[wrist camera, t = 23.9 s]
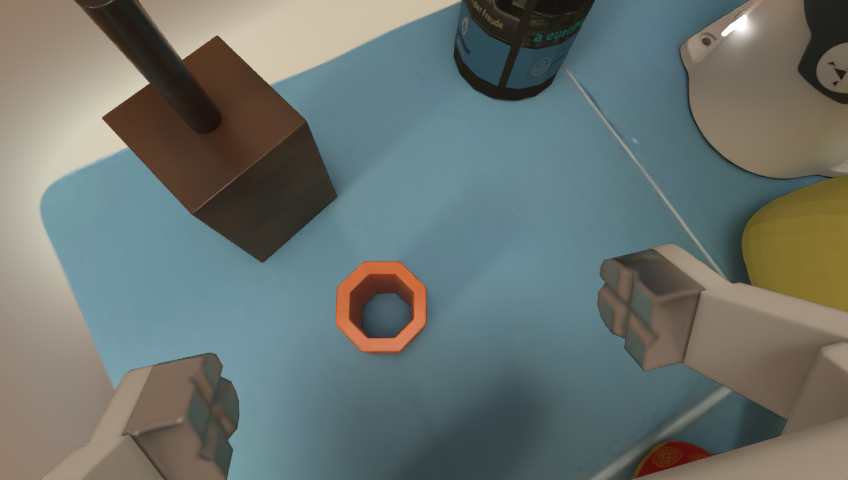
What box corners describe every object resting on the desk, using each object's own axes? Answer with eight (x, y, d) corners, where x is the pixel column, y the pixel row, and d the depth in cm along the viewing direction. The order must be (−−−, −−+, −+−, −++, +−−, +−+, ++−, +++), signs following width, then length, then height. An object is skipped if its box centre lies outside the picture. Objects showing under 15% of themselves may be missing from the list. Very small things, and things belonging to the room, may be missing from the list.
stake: (274, 134, 37) (123, -130, 17) (337, 196, 36) (255, -8, 16) (198, 195, 36) (-69, -19, 15) (262, 263, 34) (63, 127, 14)
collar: (386, 269, 35) (382, 243, 27) (435, 317, 34) (445, 305, 26) (336, 317, 34) (317, 305, 26) (385, 368, 33) (380, 371, 25)
